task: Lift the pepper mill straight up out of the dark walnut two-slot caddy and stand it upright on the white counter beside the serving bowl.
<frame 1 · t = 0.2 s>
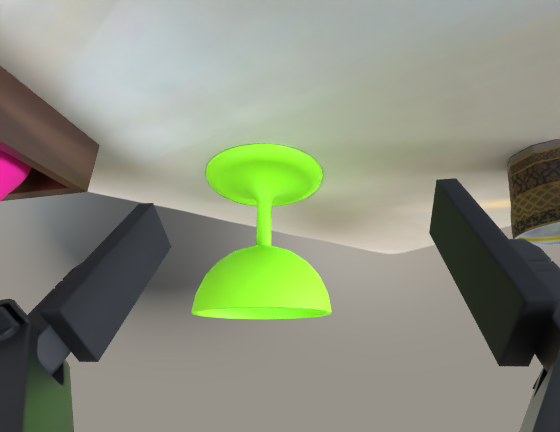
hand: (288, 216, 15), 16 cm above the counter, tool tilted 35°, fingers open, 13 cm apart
wineglass: (264, 176, 43), on the counter
pepper mill: (1, 115, 31), resting in caddy
ceramic cup: (551, 147, 36), on the counter
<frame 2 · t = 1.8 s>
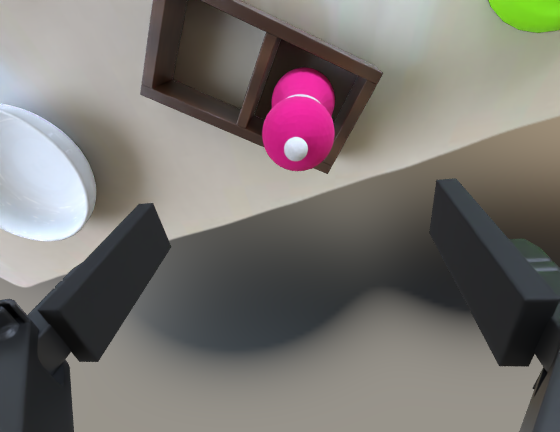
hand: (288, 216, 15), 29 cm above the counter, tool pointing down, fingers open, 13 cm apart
pepper mill: (304, 93, 39), resting in caddy
caddy: (263, 75, 38), on the counter
serving bowl: (48, 162, 48), on the counter
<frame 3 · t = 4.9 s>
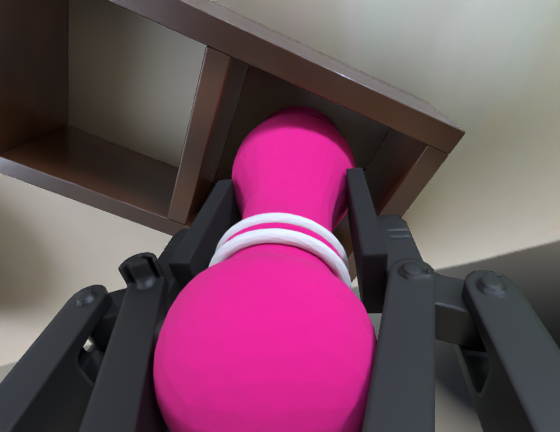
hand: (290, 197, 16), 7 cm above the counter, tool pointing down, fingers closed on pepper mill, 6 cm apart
pepper mill: (297, 149, 22), resting in caddy, touching gripper
caddy: (223, 119, 21), on the counter
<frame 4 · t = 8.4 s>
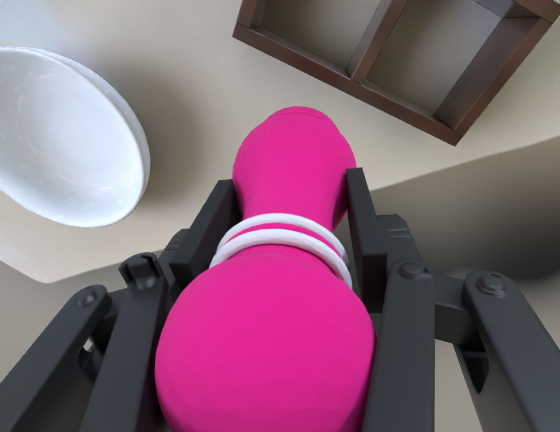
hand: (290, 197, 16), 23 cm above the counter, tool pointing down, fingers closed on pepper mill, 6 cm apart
pepper mill: (298, 150, 22), point 16 cm above the counter, touching gripper
caddy: (376, 22, 31), on the counter
serving bowl: (90, 133, 40), on the counter
when the fingers open (7 cm above the counter, at t = 11.9 s): pepper mill stays where it is, on the counter.
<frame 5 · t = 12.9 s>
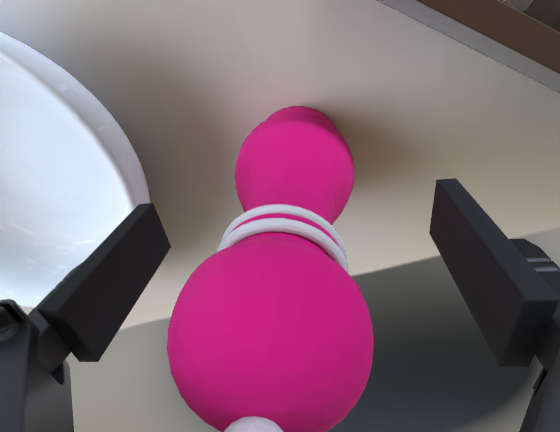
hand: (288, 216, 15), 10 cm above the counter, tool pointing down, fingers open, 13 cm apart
pepper mill: (298, 148, 23), on the counter
serving bowl: (54, 158, 25), on the counter
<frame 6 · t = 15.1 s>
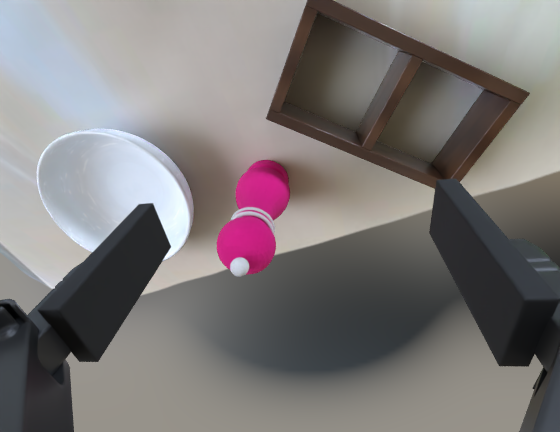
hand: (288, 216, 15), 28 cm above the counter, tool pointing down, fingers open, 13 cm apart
pepper mill: (267, 179, 45), on the counter
caddy: (380, 95, 37), on the counter
serving bowl: (139, 184, 48), on the counter
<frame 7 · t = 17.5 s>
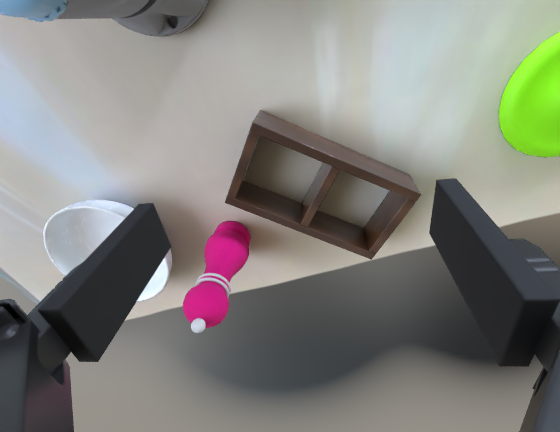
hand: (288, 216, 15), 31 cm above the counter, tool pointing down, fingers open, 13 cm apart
pepper mill: (233, 234, 55), on the counter
caddy: (318, 179, 47), on the counter
serving bowl: (128, 235, 57), on the counter
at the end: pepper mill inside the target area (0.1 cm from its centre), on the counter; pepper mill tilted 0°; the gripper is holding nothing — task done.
